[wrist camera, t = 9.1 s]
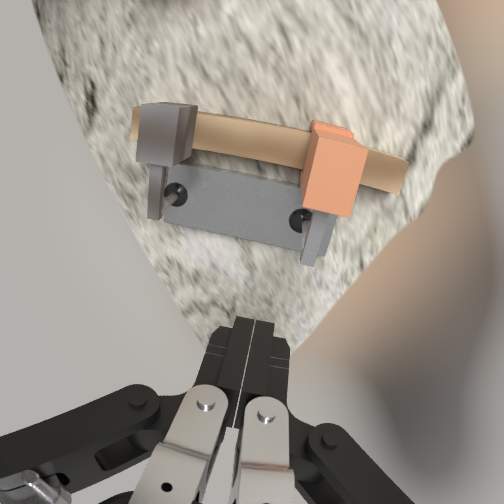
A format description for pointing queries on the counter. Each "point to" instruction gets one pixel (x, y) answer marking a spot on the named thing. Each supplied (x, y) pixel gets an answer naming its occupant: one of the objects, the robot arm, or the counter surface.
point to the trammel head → (328, 181)
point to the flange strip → (240, 206)
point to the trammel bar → (232, 146)
